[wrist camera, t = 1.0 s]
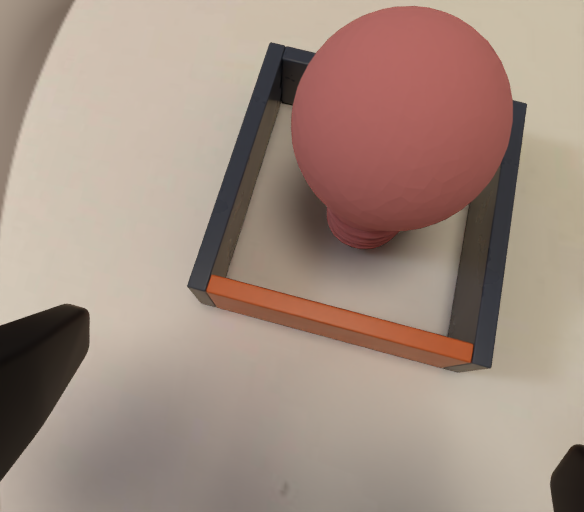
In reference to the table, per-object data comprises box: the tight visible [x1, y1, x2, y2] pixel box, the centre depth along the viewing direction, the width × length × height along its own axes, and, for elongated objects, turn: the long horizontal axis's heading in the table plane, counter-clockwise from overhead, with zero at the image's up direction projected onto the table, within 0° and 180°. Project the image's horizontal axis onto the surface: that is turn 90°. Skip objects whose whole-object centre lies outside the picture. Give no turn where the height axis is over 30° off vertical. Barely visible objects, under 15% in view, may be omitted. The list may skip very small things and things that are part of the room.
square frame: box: [187, 42, 527, 372], centre depth 22 cm, size 13×13×4 cm
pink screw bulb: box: [291, 6, 513, 249], centre depth 18 cm, size 7×7×12 cm
